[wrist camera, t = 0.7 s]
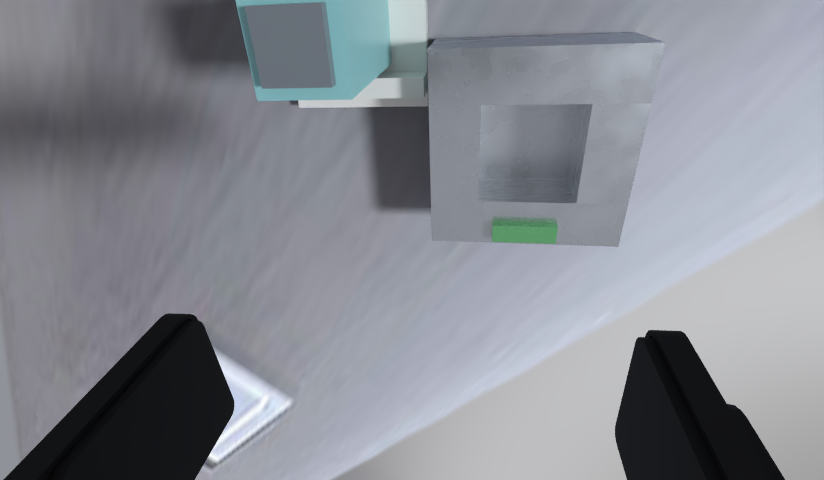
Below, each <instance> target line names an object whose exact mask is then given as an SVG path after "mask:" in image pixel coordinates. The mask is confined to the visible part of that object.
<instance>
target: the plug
mask: <svg viewBox="0 0 824 480" xmlns="http://www.w3.org/2000/svg"><path fill="white" fill-rule="evenodd" d="M235 1H236V5H237V10H238V14H239V19H240V23H241V28H242V33H243V37H244V42H245V46H246V51H247V55H248V60H249V64H250V69H251V74H252V78H253V83H254V87H255V92H256V96H257V101H286V100H352V99H353V98H354V97H356V96H357V95H358V94H359V93H360V92H361V91H362V90H363V89H364V88H365V87H367V86H368V85H369V84H370V83H371V82H372V81H373V80H374V79H375V78H376V77H377V76H379V75H380V74H381V73H382V72H383V71H384V70H385V69H386V68H387V67H388V66H390V65H391V64H392V56H391V40H390V24H389V8H388V0H235Z"/></svg>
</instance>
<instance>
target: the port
mask: <svg viewBox="0 0 824 480" xmlns="http://www.w3.org/2000/svg"><path fill="white" fill-rule="evenodd" d="M664 46H665V42H663V41H660V40H657V39H654V38H651V37H648V36H645V35H642V34H639V33H636V32H628V33H597V34H566V35H536V36H505V37H474V38H444V39H435V40H434V42H433V43H432V44H431V45H430V47H429V48H428V49H427V58H428V100H429V142H430V183H431V225H432V240H436V241H466V242H496V243H526V244H556V245H586V246H616V247H618V245H619V241H620V236H621V232H622V228H623V223H624V219H625V215H626V210H627V206H628V202H629V198H630V193H631V189H632V185H633V180H634V176H635V172H636V167H637V163H638V159H639V154H640V150H641V146H642V141H643V137H644V133H645V128H646V124H647V120H648V115H649V111H650V107H651V102H652V98H653V94H654V89H655V85H656V81H657V76H658V72H659V68H660V63H661V59H662V55H663V51H664Z"/></svg>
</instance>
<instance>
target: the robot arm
mask: <svg viewBox="0 0 824 480" xmlns="http://www.w3.org/2000/svg"><path fill="white" fill-rule="evenodd" d="M233 411H234V399H233V397H232V394H231V392H230V389H229V387H228V384H227V382H226V379H225V377H224V374H223V372H222V369H221V367H220V364H219V362H218V359H217V357H216V354H215V352H214V350H213V347H212V345H211V342H210V340H209V337H208V335H207V332H206V330H205V327H204V325H203V323H202V322H200V321H198V319H197V318H196V317H195V316H194V315H191V314H165V315H164V316H162V317H161V318H160V319H159V320H158V321H157V322H156V323H155V324H154V325H153V326H152V327H151V328H150V329H149V330H148V331H147V332H146V333H145V334H144V335H143V336H142V337H141V338H140V340H139V341H138V342H137V343H136V344H135V345H134V346H133V347H132V348H131V349H130V350H129V351H128V352H127V353H126V354H125V355H124V356H123V357H122V358H121V359H120V360H119V361H118V362H117V363H116V364H115V365H114V366H113V367H112V368H111V369H110V370H109V372H108V373H107V374H106V375H105V376H104V377H103V378H102V379H101V380H100V381H99V382H98V383H97V384H96V385H95V386H94V387H93V388H92V389H91V390H90V391H89V392H88V393H87V394H86V395H85V396H84V397H83V398H82V399H81V400H80V401H79V402H78V403H77V405H76V406H75V407H74V408H73V409H72V410H71V411H70V412H69V413H68V414H67V415H66V416H65V417H64V418H63V419H62V420H61V421H60V422H59V423H58V424H57V425H56V426H55V427H54V428H53V429H52V430H51V431H50V432H49V433H48V434H47V435H46V437H45V438H44V439H43V440H42V441H41V442H40V443H39V444H38V445H37V446H36V447H35V448H34V449H33V450H32V451H31V452H30V453H29V454H28V455H27V456H26V457H25V458H24V459H23V460H22V461H21V462H20V463H19V464H18V465H17V466H16V467H15V469H14V470H13V471H12V472H11V473H10V474H9V475H8V476H7V477H6V478H5V479H4V480H195V478H196V476H197V475H198V473H199V471H200V470H201V468H202V466H203V464H204V463H205V461H206V459H207V458H208V456H209V454H210V452H211V451H212V449H213V447H214V446H215V444H216V442H217V440H218V439H219V437H220V435H221V433H222V432H223V430H224V428H225V427H226V425H227V423H228V421H229V420H230V418H231V416H232V414H233ZM615 437H616V443H617V447H618V450H619V453H620V457H621V460H622V464H623V467H624V470H625V474H626V477H627V480H785V479H784V477H783V476H782V474H781V472H780V471H779V469H778V468H777V466H776V464H775V463H774V461H773V459H772V458H771V456H770V455H769V453H768V451H767V450H766V449H765V446H764V445H763V443H762V442H761V440H760V438H759V437H758V435H757V433H756V432H755V430H754V429H753V427H752V425H751V424H750V422H749V421H748V419H747V417H746V416H745V415H744V414H743V412H742V411H741V410H740V409H738V408H737V407H736V406H735V405H730V404H726V402H725V400H724V399H723V397H722V395H721V394H720V392H719V390H718V389H717V387H716V385H715V383H714V382H713V380H712V378H711V377H710V375H709V373H708V371H707V370H706V368H705V366H704V365H703V363H702V361H701V359H700V358H699V356H698V354H697V353H696V351H695V349H694V348H693V346H692V344H691V342H690V341H689V339H688V337H687V336H686V335H685V333H683V332H681V331H659V330H649V331H648V332H647V333H646V336H645V337H638V338H637V340H636V343H635V347H634V351H633V355H632V359H631V363H630V367H629V372H628V376H627V380H626V384H625V388H624V393H623V396H622V401H621V405H620V409H619V413H618V418H617V421H616V426H615Z"/></svg>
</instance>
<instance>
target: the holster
mask: <svg viewBox="0 0 824 480" xmlns="http://www.w3.org/2000/svg"><path fill="white" fill-rule="evenodd" d="M388 8H389V24H390V40H391V56H392V64H391V65H390V66H388V67H387V68H386V69H385V70H384V71H383V72H382V73H381V74H380V75H379V76H377V77H376V78H375V79H374V80H373V81H372V82H371V83H370V84H369V85H368V86H367V87H365V88H364V89H363V90H362V91H361V92H360V93H359V94H358V95H357V96H356V97H354V98H353V99H352V100H298V103H299V108H326V107H421V106H428V105H429V100H428V58H427V49H428V17H427V0H388Z"/></svg>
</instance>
